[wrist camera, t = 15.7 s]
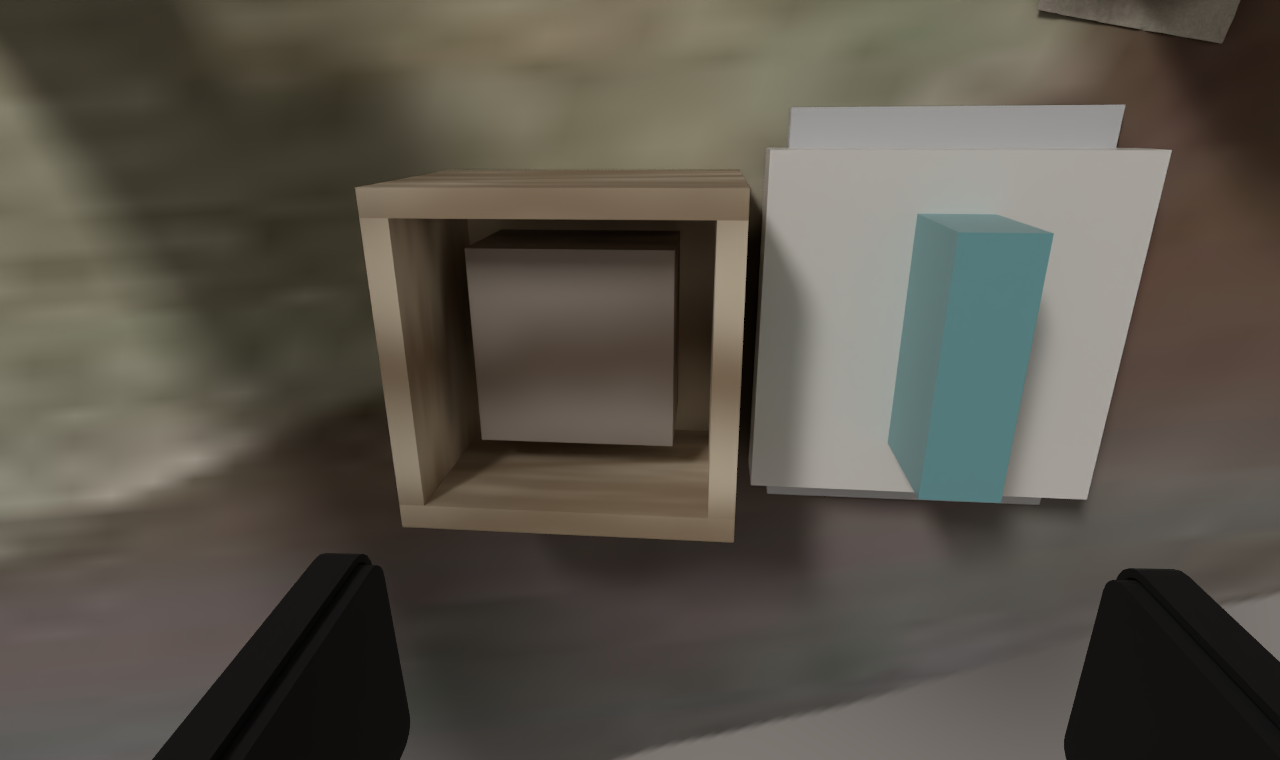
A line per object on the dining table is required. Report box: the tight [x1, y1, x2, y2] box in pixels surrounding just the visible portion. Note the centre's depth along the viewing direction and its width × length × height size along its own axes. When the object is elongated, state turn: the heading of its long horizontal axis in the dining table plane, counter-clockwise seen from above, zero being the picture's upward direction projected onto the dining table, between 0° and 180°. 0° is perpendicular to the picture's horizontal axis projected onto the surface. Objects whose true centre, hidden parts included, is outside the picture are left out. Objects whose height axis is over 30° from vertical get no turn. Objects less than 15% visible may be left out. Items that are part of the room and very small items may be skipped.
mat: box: [766, 105, 1125, 505], centre depth 32 cm, size 18×13×1 cm
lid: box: [749, 148, 1172, 503], centre depth 28 cm, size 15×15×7 cm
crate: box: [355, 170, 750, 543], centre depth 29 cm, size 13×13×9 cm
